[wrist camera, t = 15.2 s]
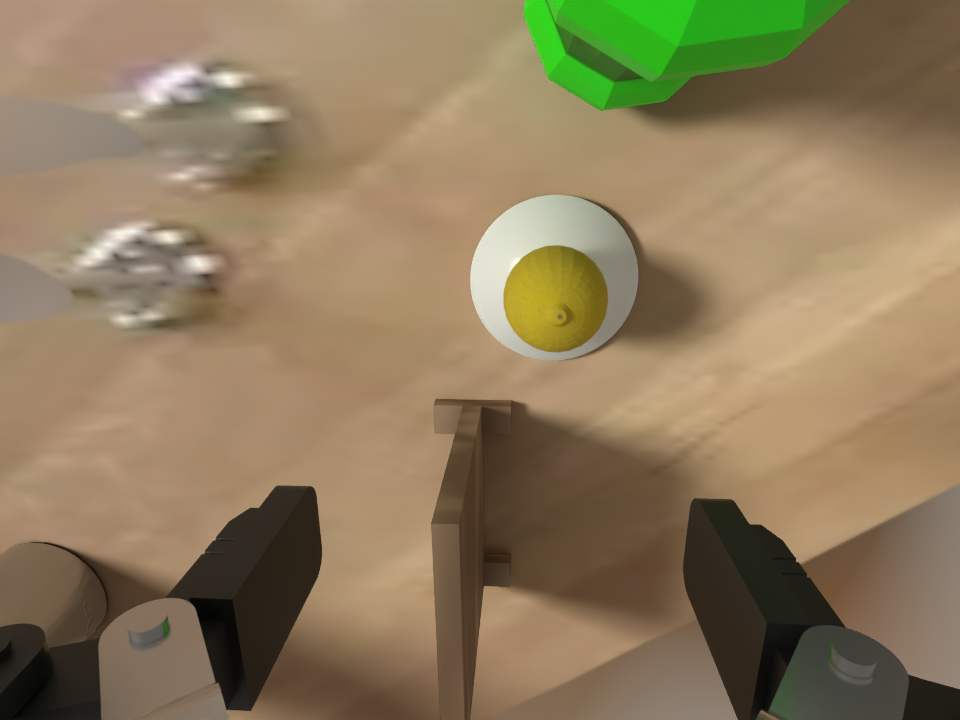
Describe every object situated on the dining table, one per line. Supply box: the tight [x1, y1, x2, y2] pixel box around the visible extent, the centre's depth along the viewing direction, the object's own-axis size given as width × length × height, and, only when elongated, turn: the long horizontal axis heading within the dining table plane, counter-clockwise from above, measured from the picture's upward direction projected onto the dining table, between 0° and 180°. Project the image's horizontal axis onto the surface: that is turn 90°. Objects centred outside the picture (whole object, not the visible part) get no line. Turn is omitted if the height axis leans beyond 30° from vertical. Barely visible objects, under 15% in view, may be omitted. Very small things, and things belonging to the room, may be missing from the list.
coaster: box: [470, 194, 638, 361], centre depth 35 cm, size 10×10×1 cm
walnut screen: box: [431, 399, 511, 720], centre depth 34 cm, size 5×14×14 cm, turn 1°
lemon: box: [503, 245, 608, 353], centre depth 31 cm, size 6×6×8 cm
